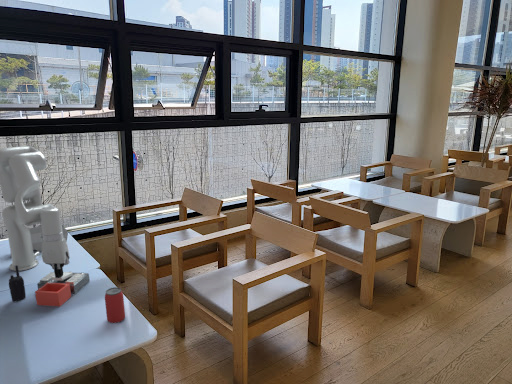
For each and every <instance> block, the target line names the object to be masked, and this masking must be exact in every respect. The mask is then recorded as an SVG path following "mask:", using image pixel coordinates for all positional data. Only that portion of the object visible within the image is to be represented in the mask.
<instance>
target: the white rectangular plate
mask: <svg viewBox="0 0 512 384" xmlns="http://www.w3.org/2000/svg"><path fill="white" fill-rule="evenodd" d="M69 272H70V271H67V272H66V271H63V276H61V277H60V278H55V276H53V277H51V280H60V281H62V280H64V279H66V278H68V277H70V276H72V275H73V273H74V272H72V273H69Z"/></svg>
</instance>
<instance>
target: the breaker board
mask: <svg viewBox="0 0 512 384" xmlns="http://www.w3.org/2000/svg"><path fill="white" fill-rule="evenodd" d="M68 272H69V273H73V275H72V276H70V277H68V278H66V279H64V280H62V281H60V280H51V277H53V276H55V273H54V271H50V272H49V273H48V274H46V275H45V276H44V277H42V278H41V279H40V280H39V282H38V283H36V285H37V290H38V289H39V288H41V287H42V286H43V285H45V284H46V283H65V284H70V291H71V295H76V294H77V293H78V292H79V291H81V290H82V289H84V287H85V286H86V285H88V283H90V281H91V280H90V273H87V272H72V271H68Z"/></svg>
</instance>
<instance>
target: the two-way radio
mask: <svg viewBox="0 0 512 384" xmlns="http://www.w3.org/2000/svg"><path fill="white" fill-rule="evenodd" d="M15 267H16V271H15V274H16V276H14V275H13V274H11V275H10V278H9V279H8V288H9V291H10V292H9V293H10V297H11V301H12V302H15V301H16V302H19V301H21V300H24V299H25V298H26V297H27V296H26V288H25V281H24V278H23V276H21V275H20V271H18V266H17V265H16V266H15Z"/></svg>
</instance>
